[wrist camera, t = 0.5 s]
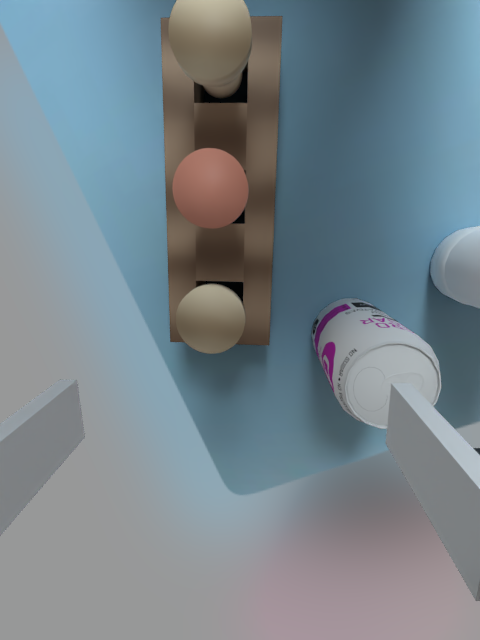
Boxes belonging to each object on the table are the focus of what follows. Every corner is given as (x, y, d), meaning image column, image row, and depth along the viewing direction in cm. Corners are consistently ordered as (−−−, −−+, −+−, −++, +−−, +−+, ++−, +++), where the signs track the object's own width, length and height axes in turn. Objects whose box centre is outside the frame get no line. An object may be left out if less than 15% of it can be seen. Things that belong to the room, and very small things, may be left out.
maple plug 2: (191, 274, 35) (174, 285, 28) (249, 276, 35) (245, 287, 28) (192, 329, 36) (176, 352, 30) (247, 331, 36) (244, 355, 29)
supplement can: (317, 371, 43) (345, 443, 28) (305, 304, 41) (329, 344, 26) (387, 359, 42) (453, 428, 27) (378, 290, 40) (445, 324, 25)
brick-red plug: (190, 164, 33) (171, 147, 26) (251, 165, 32) (248, 148, 26) (191, 228, 34) (173, 227, 27) (250, 229, 34) (247, 229, 27)
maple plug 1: (188, 37, 30) (167, -19, 23) (254, 36, 30) (252, -21, 23) (189, 111, 32) (169, 78, 25) (253, 111, 31) (250, 78, 24)
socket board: (177, 52, 35) (160, 17, 30) (279, 51, 35) (282, 16, 29) (183, 326, 42) (170, 341, 36) (268, 329, 42) (269, 345, 36)
